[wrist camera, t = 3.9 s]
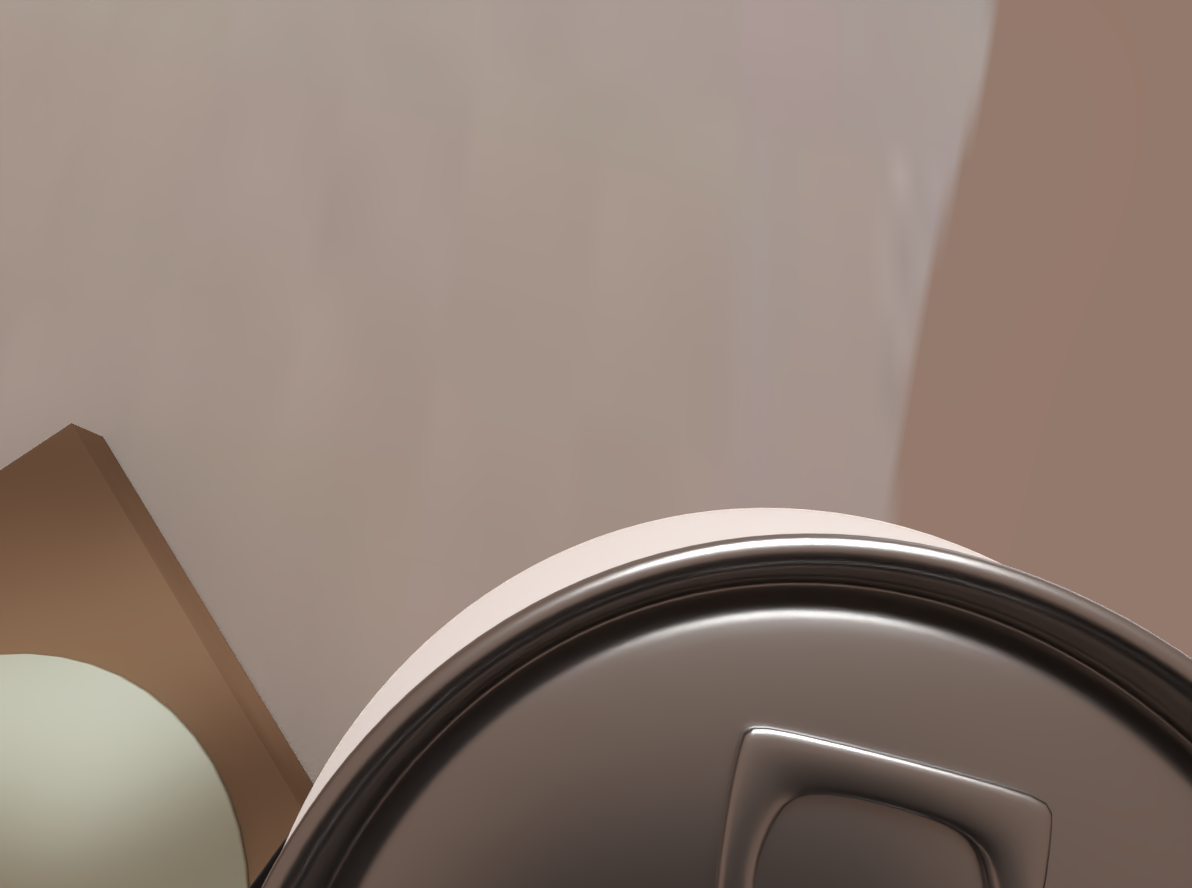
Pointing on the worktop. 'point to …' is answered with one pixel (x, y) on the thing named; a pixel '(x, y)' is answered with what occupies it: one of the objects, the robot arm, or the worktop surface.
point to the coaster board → (122, 697)
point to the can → (765, 726)
